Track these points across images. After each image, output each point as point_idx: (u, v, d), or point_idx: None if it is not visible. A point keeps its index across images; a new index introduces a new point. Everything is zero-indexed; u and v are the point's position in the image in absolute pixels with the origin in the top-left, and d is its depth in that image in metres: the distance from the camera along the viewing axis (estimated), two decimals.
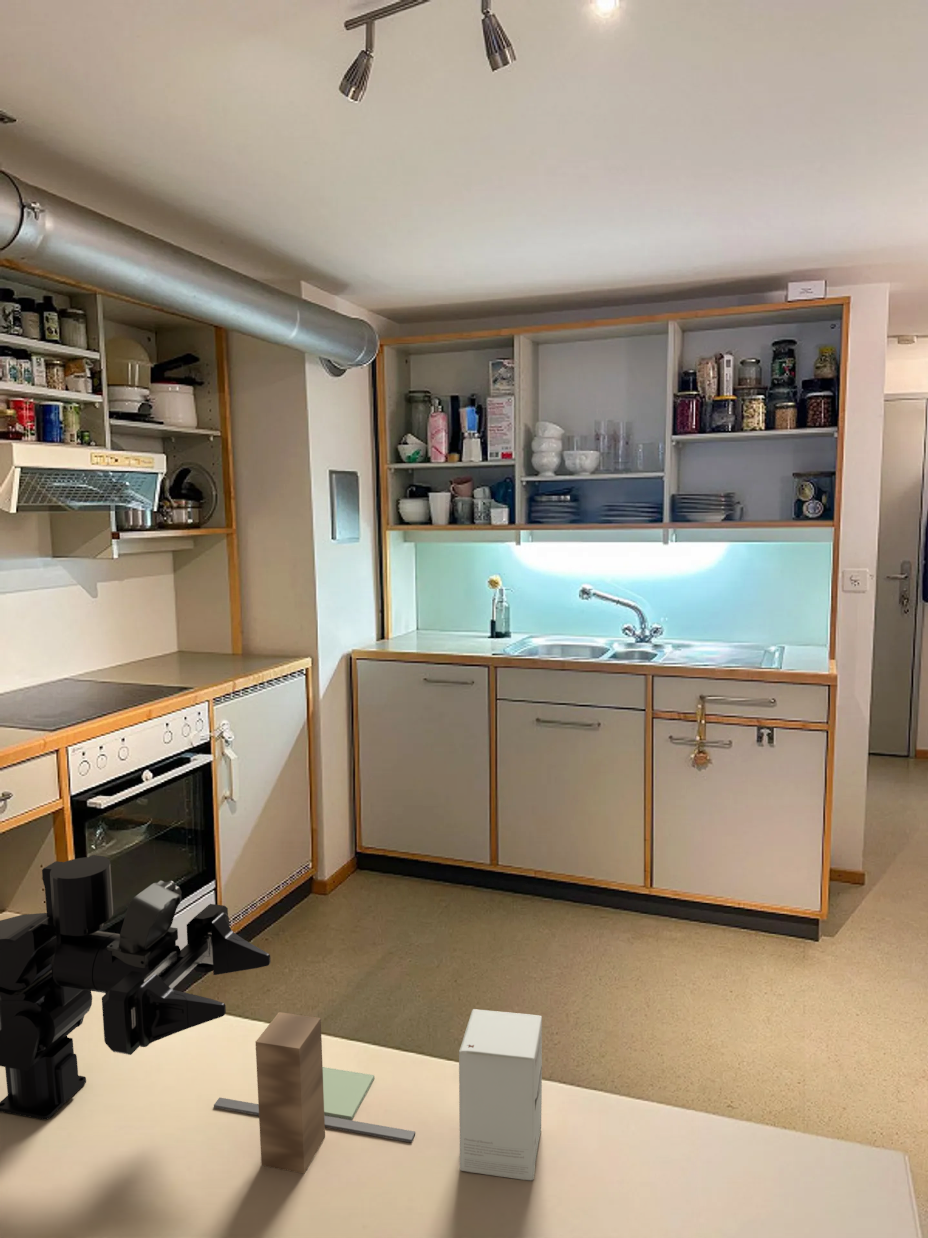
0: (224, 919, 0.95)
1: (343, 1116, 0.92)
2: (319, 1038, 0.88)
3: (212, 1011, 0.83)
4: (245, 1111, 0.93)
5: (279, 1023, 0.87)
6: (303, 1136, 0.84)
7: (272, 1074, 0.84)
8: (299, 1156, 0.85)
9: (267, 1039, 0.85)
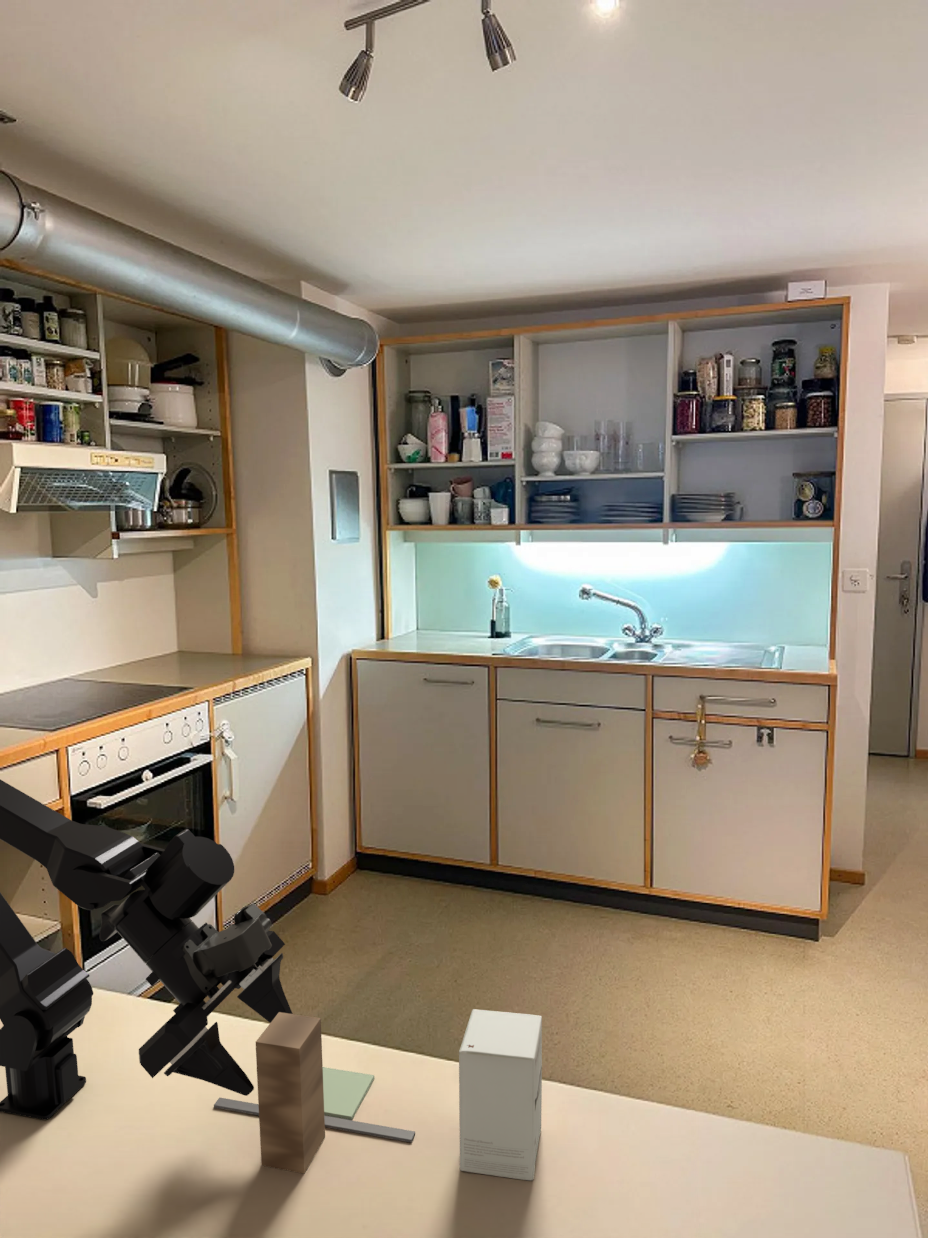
0: (280, 963, 0.93)
1: (343, 1116, 0.92)
2: (319, 1038, 0.88)
3: (240, 1087, 0.82)
4: (245, 1111, 0.93)
5: (279, 1023, 0.87)
6: (303, 1136, 0.84)
7: (272, 1074, 0.84)
8: (299, 1156, 0.85)
9: (267, 1039, 0.85)
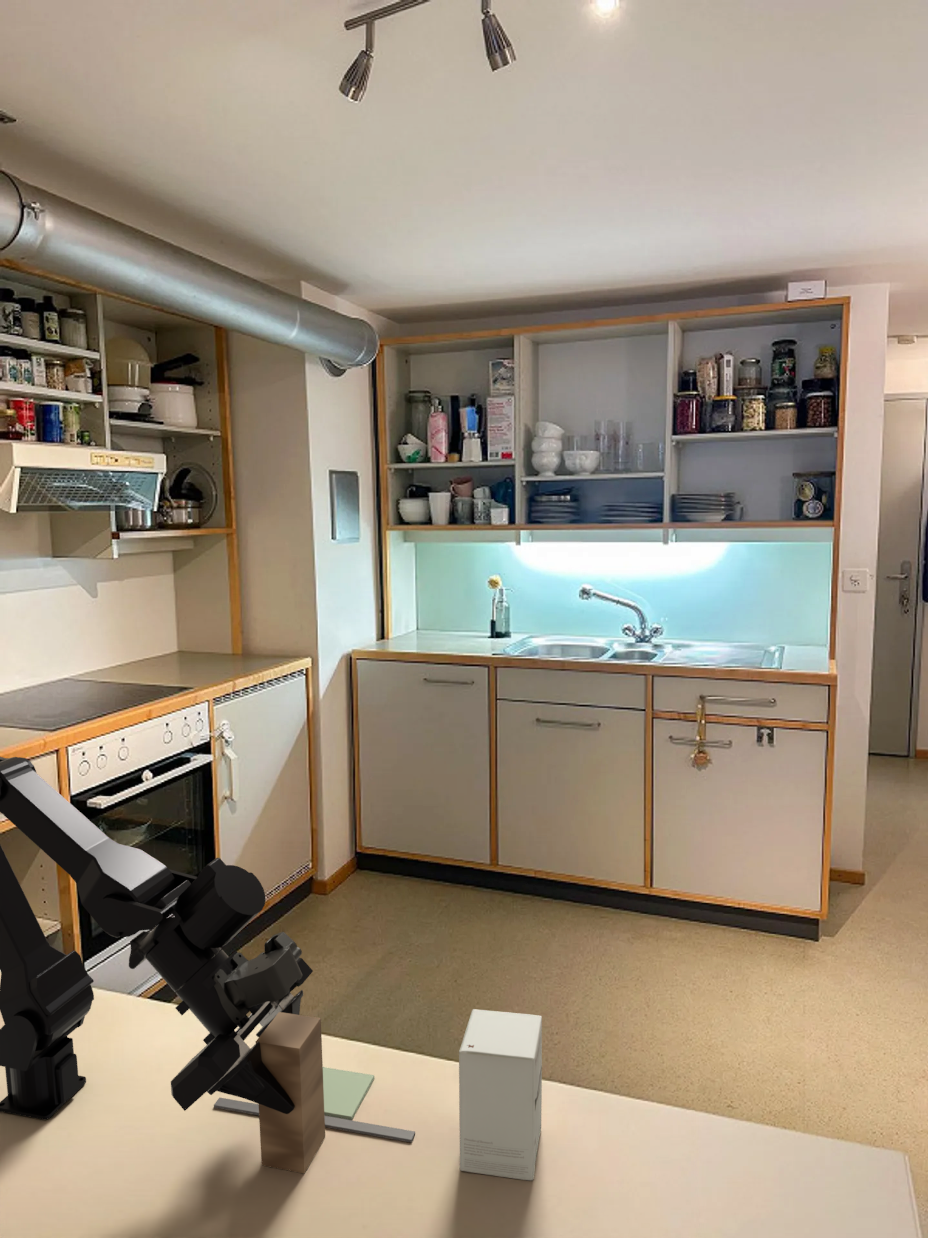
0: (300, 1000, 0.91)
1: (343, 1116, 0.92)
2: (319, 1038, 0.88)
3: (281, 1106, 0.84)
4: (245, 1111, 0.93)
5: (279, 1023, 0.87)
6: (303, 1135, 0.84)
7: (272, 1074, 0.84)
8: (299, 1156, 0.85)
9: (267, 1039, 0.85)
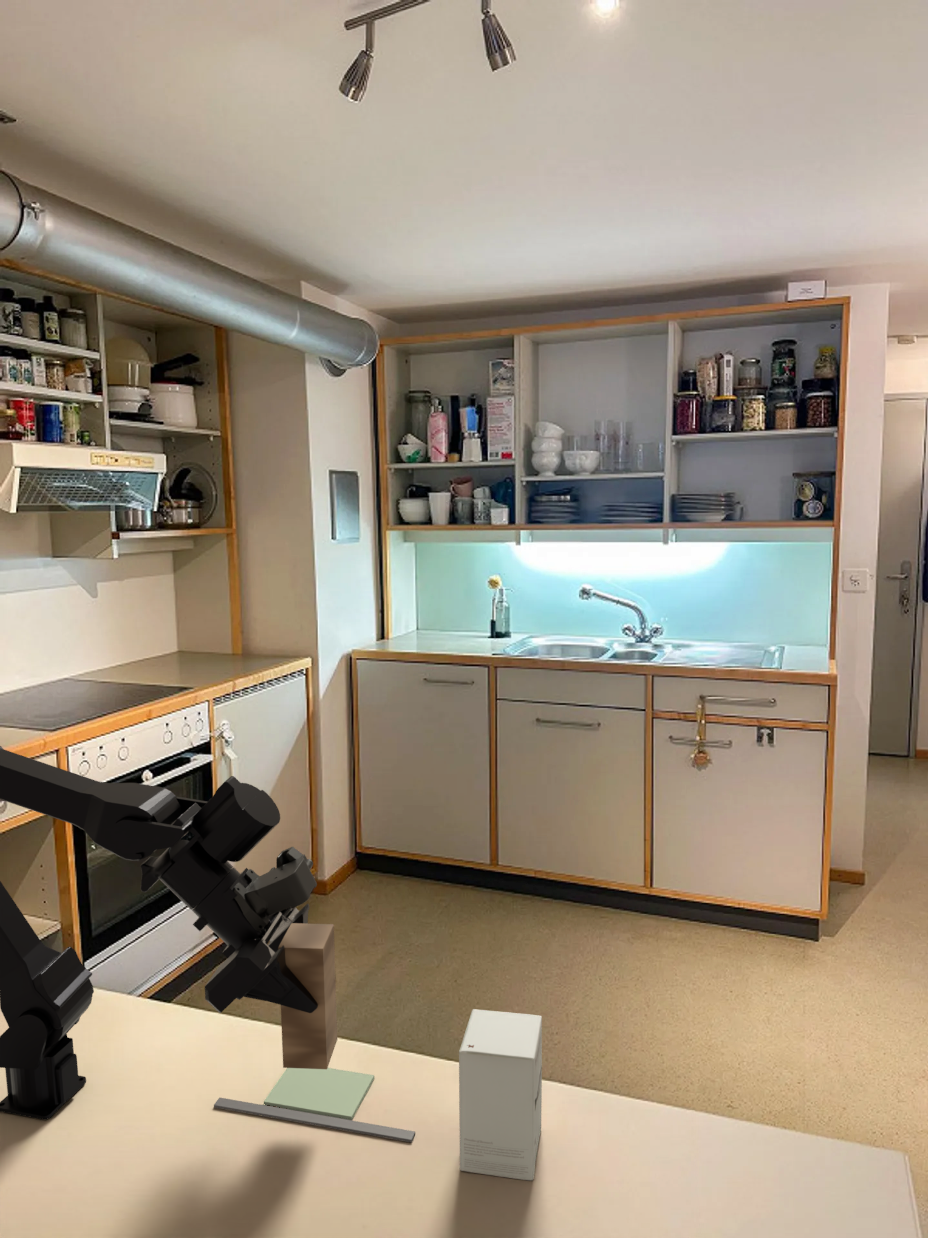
0: (307, 913, 0.95)
1: (343, 1116, 0.92)
2: (333, 943, 0.92)
3: (306, 1005, 0.88)
4: (245, 1111, 0.93)
5: (295, 931, 0.91)
6: (325, 1033, 0.89)
7: None
8: (322, 1053, 0.89)
9: (289, 944, 0.89)
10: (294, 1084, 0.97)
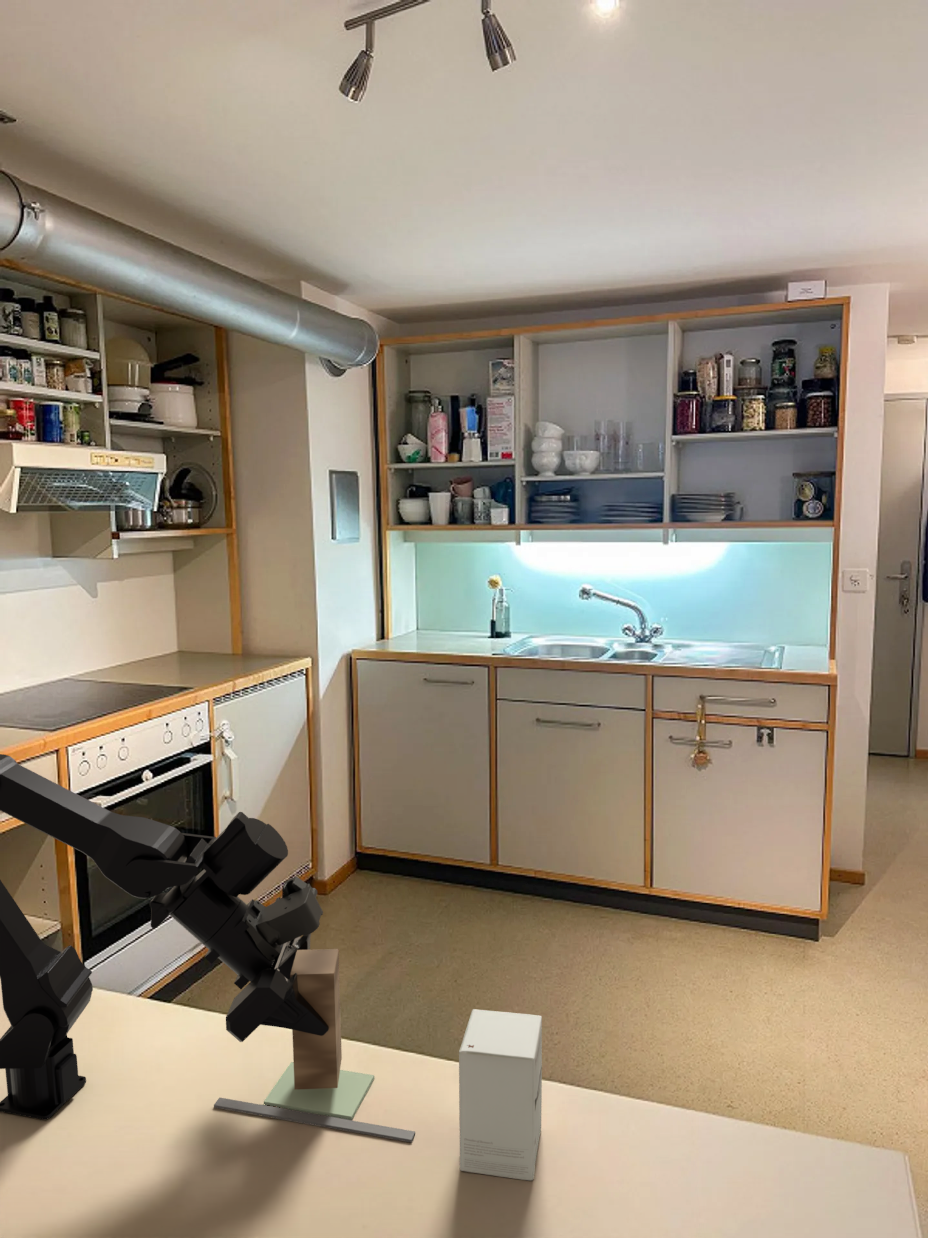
0: None
1: (343, 1116, 0.92)
2: (338, 967, 0.97)
3: (318, 1028, 0.92)
4: (245, 1111, 0.93)
5: (303, 958, 0.95)
6: (336, 1053, 0.93)
7: None
8: (333, 1073, 0.94)
9: (300, 971, 0.92)
10: None
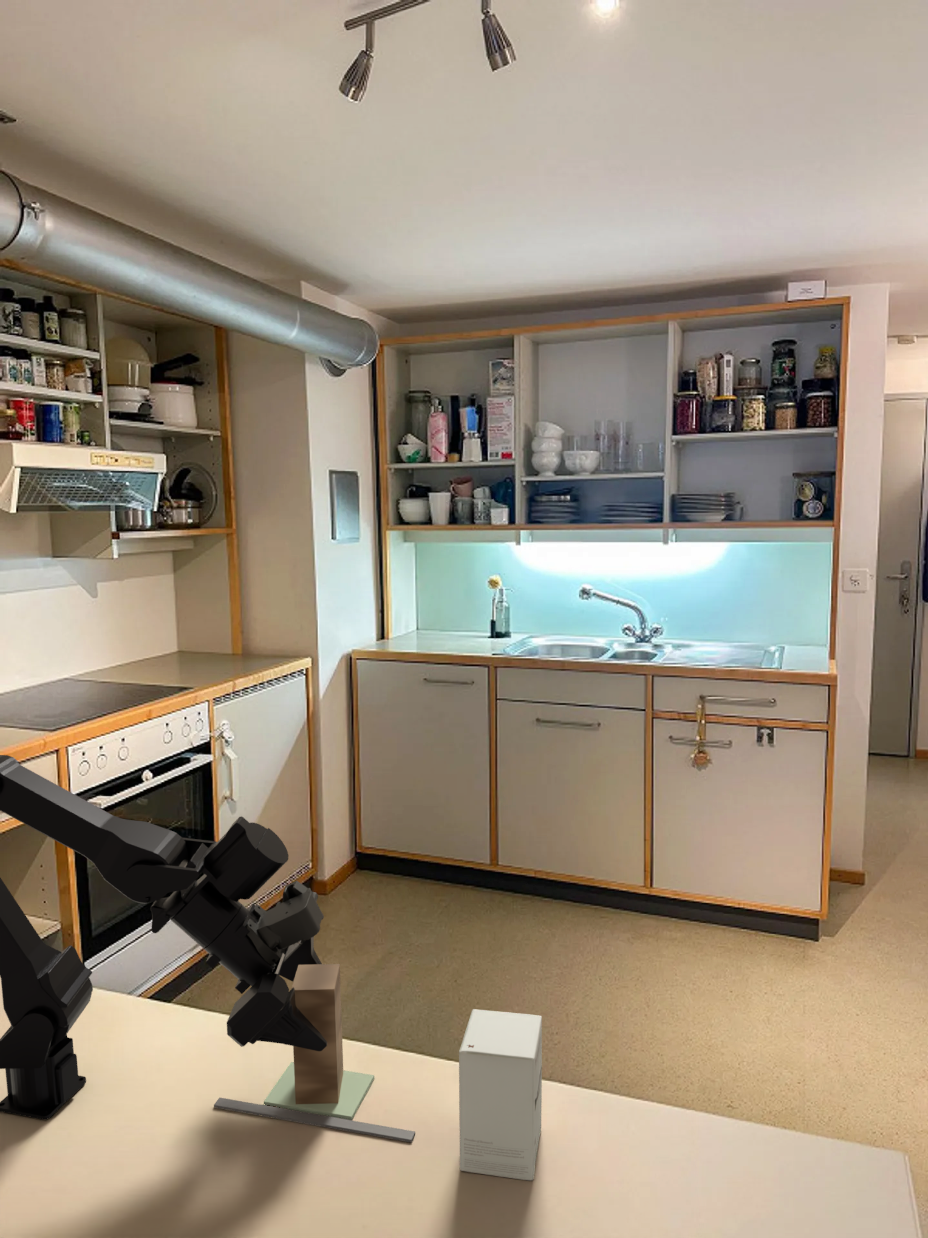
0: None
1: (343, 1116, 0.92)
2: (339, 982, 0.97)
3: (316, 1044, 0.90)
4: (245, 1111, 0.93)
5: (304, 973, 0.95)
6: (337, 1068, 0.94)
7: (307, 1017, 0.93)
8: (333, 1088, 0.94)
9: (301, 986, 0.93)
10: (294, 1084, 0.97)
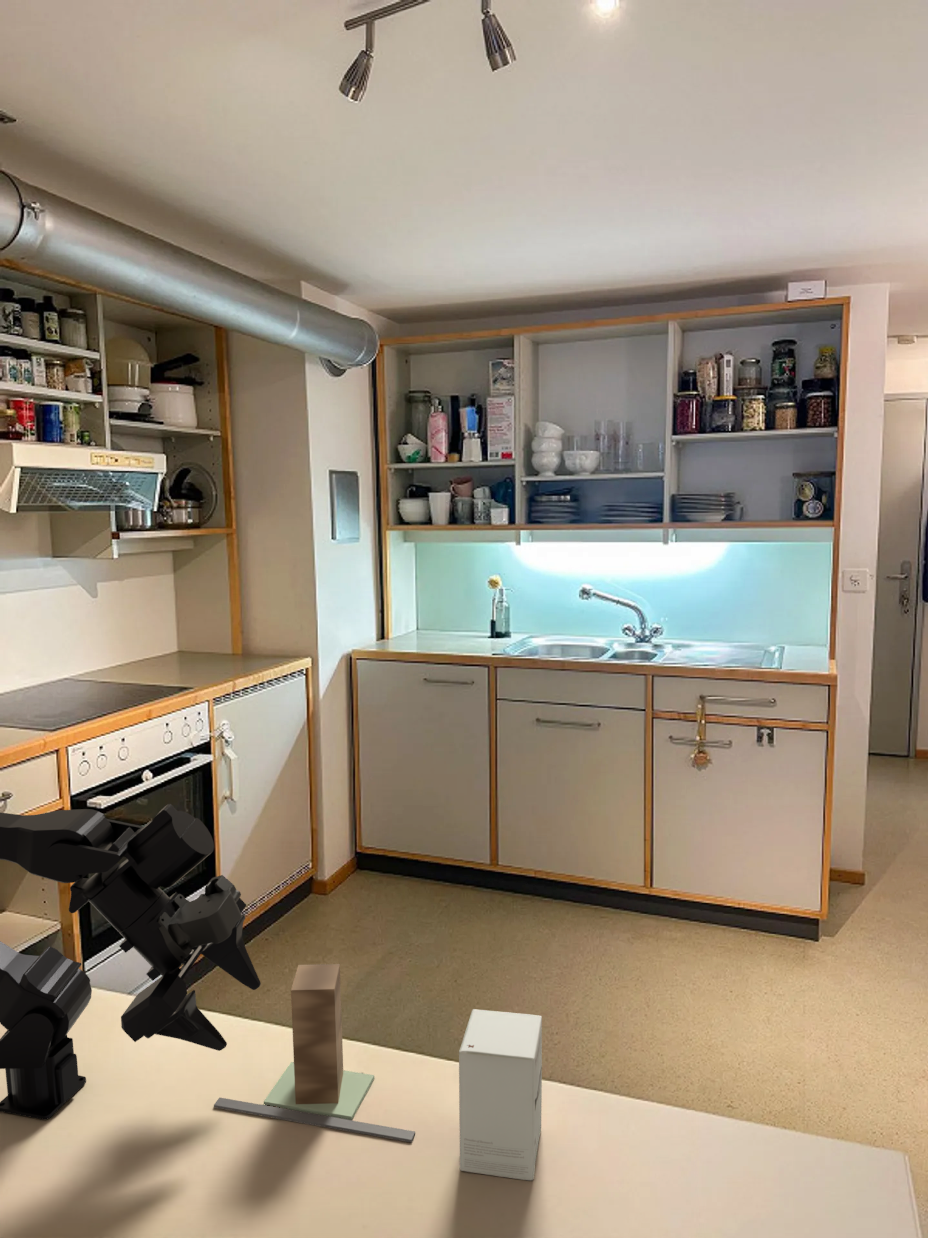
0: (242, 923, 1.00)
1: (343, 1116, 0.92)
2: (339, 982, 0.97)
3: (214, 1044, 0.90)
4: (245, 1111, 0.93)
5: (304, 973, 0.95)
6: (337, 1068, 0.94)
7: (307, 1017, 0.93)
8: (333, 1088, 0.94)
9: (301, 986, 0.93)
10: (294, 1084, 0.97)
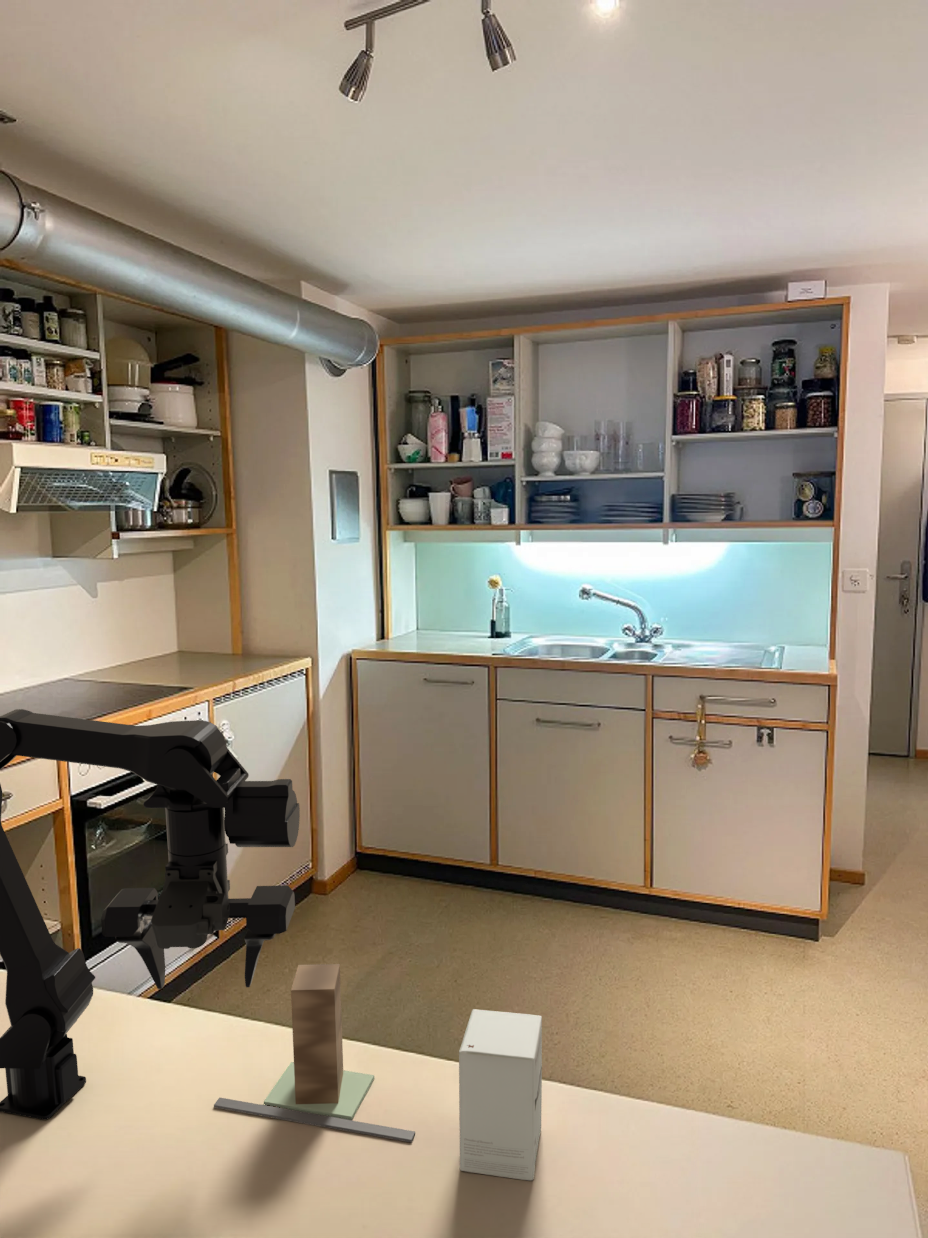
0: (262, 940, 0.90)
1: (343, 1116, 0.92)
2: (339, 982, 0.97)
3: None
4: (245, 1111, 0.93)
5: (304, 973, 0.95)
6: (337, 1068, 0.94)
7: (307, 1017, 0.93)
8: (333, 1088, 0.94)
9: (301, 986, 0.93)
10: (294, 1084, 0.97)
